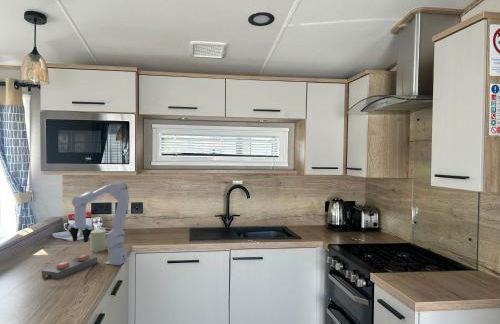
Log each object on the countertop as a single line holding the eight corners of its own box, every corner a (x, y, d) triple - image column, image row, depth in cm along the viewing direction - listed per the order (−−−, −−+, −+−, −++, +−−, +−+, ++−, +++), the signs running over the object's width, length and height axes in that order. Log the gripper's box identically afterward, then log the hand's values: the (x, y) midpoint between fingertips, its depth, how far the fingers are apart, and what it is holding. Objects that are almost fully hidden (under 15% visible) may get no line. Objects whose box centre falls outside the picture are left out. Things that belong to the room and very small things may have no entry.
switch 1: (69, 265, 174) (69, 261, 174) (61, 268, 169) (61, 264, 169) (64, 265, 175) (64, 261, 175) (56, 268, 170) (56, 264, 170)
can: (88, 252, 209) (88, 232, 209) (91, 248, 218) (91, 229, 218) (104, 251, 212) (104, 231, 212) (107, 247, 221) (106, 228, 220)
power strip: (97, 262, 189) (97, 257, 189) (52, 281, 162) (52, 274, 162) (83, 260, 192) (82, 255, 192) (36, 278, 165) (36, 272, 165)
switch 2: (89, 258, 186) (89, 254, 186) (81, 261, 181) (81, 257, 181) (84, 257, 187) (84, 254, 187) (77, 260, 182) (77, 256, 182)
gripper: (64, 218, 192) (64, 242, 192) (85, 219, 188) (85, 244, 188) (74, 215, 199) (74, 239, 199) (94, 217, 194) (94, 241, 195)
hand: (80, 241), depth 194 cm, fingers open, 7 cm apart
